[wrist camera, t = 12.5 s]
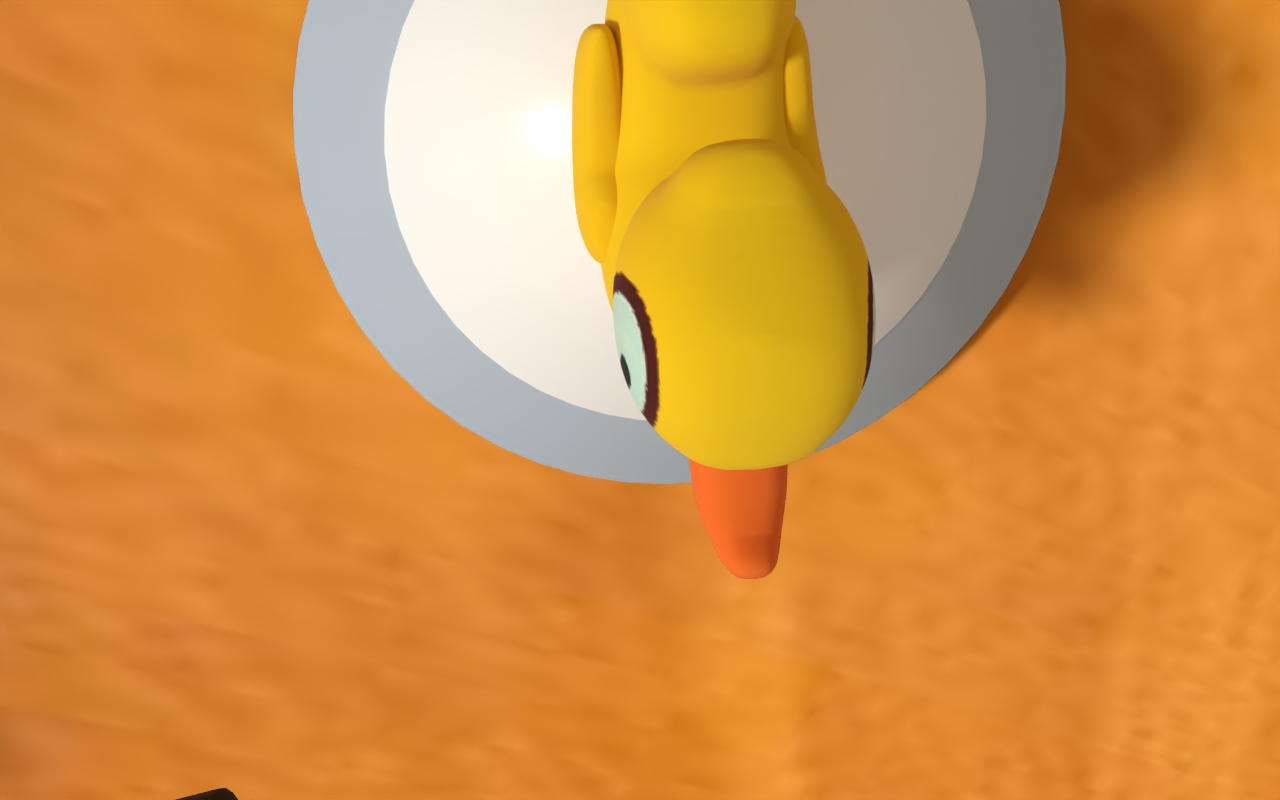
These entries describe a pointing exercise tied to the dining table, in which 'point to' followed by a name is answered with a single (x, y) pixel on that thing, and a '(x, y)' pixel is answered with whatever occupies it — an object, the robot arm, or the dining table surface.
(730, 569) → the duckling
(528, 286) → the plate
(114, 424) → the dining table surface
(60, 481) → the dining table surface
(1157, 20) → the dining table surface
